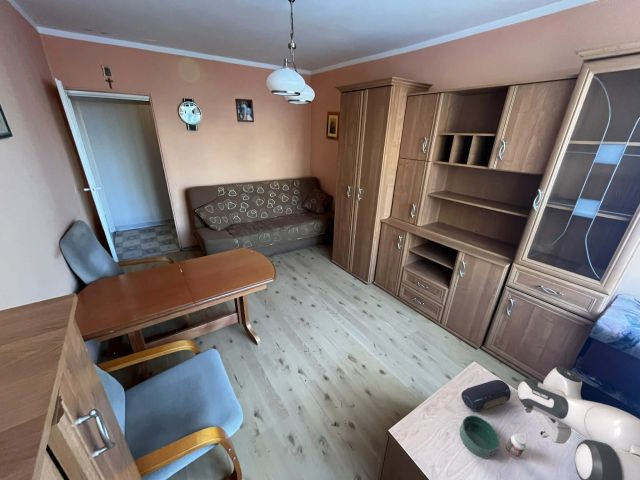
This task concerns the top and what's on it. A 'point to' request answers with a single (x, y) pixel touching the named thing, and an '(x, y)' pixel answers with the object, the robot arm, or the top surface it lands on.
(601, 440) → the robot arm
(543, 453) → the top surface
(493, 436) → the bowl
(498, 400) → the portable speaker
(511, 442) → the pill bottle
